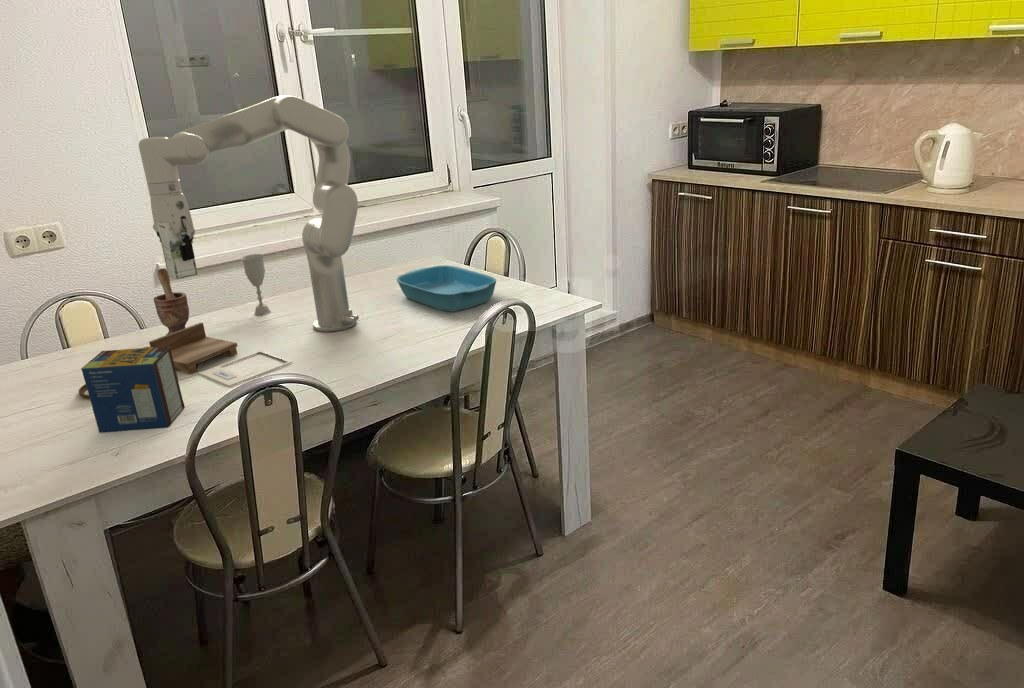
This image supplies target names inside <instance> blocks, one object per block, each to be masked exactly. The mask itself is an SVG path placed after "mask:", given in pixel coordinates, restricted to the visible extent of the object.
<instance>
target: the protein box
mask: <svg viewBox="0 0 1024 688" xmlns="http://www.w3.org/2000/svg"><path fill="white" fill-rule="evenodd" d="M148 347H149V348H144V347H140V348H125V349H113V350H112V349H111V350H102V351H100V352H99V353H98V354H96V355H95V357H93V358H92V359H91V360H89V361H88V362H87V363H85V365H84V366H82V367H80V370H81V373H82V376H83V379H84V383H85V384H86V387H87V395H89V398H90V399H89V400H90V404H91V407H92V412H93V415H94V418H95V422H96V426H97V429H98V433H100V434H101V433H102V434H103V433H115V432H130V431H131V432H132V431H143V430H144V431H145V430H154V429H155V430H156V429H168V428H170V426H171V425H172V424H173V422H174V421H175V420H176V419H177V418H178V416H179V415H180V414H181V412H182V411H183V410H184V408H185V403H184V400H183V395H182V391H181V386H180V384H179V383H180V382H179V379H178V374H177V371H176V370H175V366H174V362H173V357H172V353H171V349H170V346H161V347H150V346H148Z"/></svg>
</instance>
